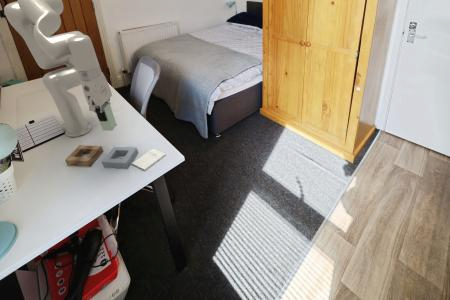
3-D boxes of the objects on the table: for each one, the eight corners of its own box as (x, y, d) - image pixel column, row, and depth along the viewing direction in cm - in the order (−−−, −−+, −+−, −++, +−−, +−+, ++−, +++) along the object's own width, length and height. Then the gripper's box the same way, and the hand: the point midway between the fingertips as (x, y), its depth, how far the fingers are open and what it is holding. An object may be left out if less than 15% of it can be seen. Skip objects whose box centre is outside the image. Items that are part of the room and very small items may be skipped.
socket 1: (67, 165, 121) (64, 160, 120) (81, 150, 130) (79, 145, 128) (90, 166, 120) (88, 161, 118) (103, 151, 128) (101, 146, 127)
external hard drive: (132, 166, 119) (153, 150, 127) (145, 172, 115) (166, 156, 123) (131, 163, 118) (152, 148, 126) (144, 169, 114) (165, 153, 122)
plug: (102, 130, 111) (94, 107, 105) (107, 125, 114) (99, 103, 108) (112, 130, 111) (104, 107, 105) (116, 125, 114) (109, 103, 108)
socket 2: (103, 167, 119) (101, 161, 117) (115, 151, 127) (113, 146, 126) (127, 168, 117) (125, 163, 115) (138, 152, 126) (136, 147, 124)
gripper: (87, 82, 92) (104, 129, 103) (111, 64, 105) (124, 108, 116) (66, 82, 93) (86, 129, 104) (92, 64, 106) (107, 107, 117)
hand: (106, 117), depth 110 cm, fingers closed on plug, 4 cm apart
